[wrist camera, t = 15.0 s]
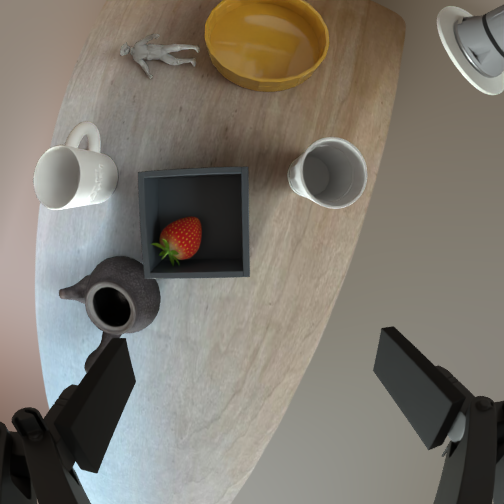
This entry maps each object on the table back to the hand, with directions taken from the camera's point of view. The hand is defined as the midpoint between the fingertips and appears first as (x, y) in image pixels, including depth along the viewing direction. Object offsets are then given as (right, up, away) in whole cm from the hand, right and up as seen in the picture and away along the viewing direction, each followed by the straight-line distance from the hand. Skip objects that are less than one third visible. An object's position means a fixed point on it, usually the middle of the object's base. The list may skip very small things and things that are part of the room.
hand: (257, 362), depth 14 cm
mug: (-24, +19, +26) cm, 40 cm away
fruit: (-8, +10, +27) cm, 30 cm away
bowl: (+2, +38, +23) cm, 45 cm away
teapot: (-23, -4, +31) cm, 39 cm away
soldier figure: (-14, +36, +23) cm, 45 cm away
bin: (-8, +10, +29) cm, 32 cm away
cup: (+8, +17, +28) cm, 34 cm away
